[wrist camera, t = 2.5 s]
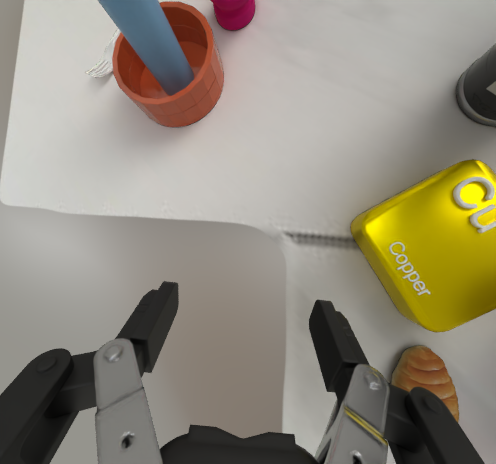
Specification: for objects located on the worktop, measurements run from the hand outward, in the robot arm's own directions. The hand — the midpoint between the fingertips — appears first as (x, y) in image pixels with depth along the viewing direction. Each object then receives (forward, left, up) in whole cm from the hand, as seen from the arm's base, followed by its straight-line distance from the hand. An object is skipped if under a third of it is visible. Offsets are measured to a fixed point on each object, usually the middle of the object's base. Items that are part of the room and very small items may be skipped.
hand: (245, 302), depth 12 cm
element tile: (-17, +12, -18) cm, 28 cm away
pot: (-10, -31, -18) cm, 37 cm away
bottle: (-10, -31, -17) cm, 37 cm away
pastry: (-3, +23, -18) cm, 29 cm away
